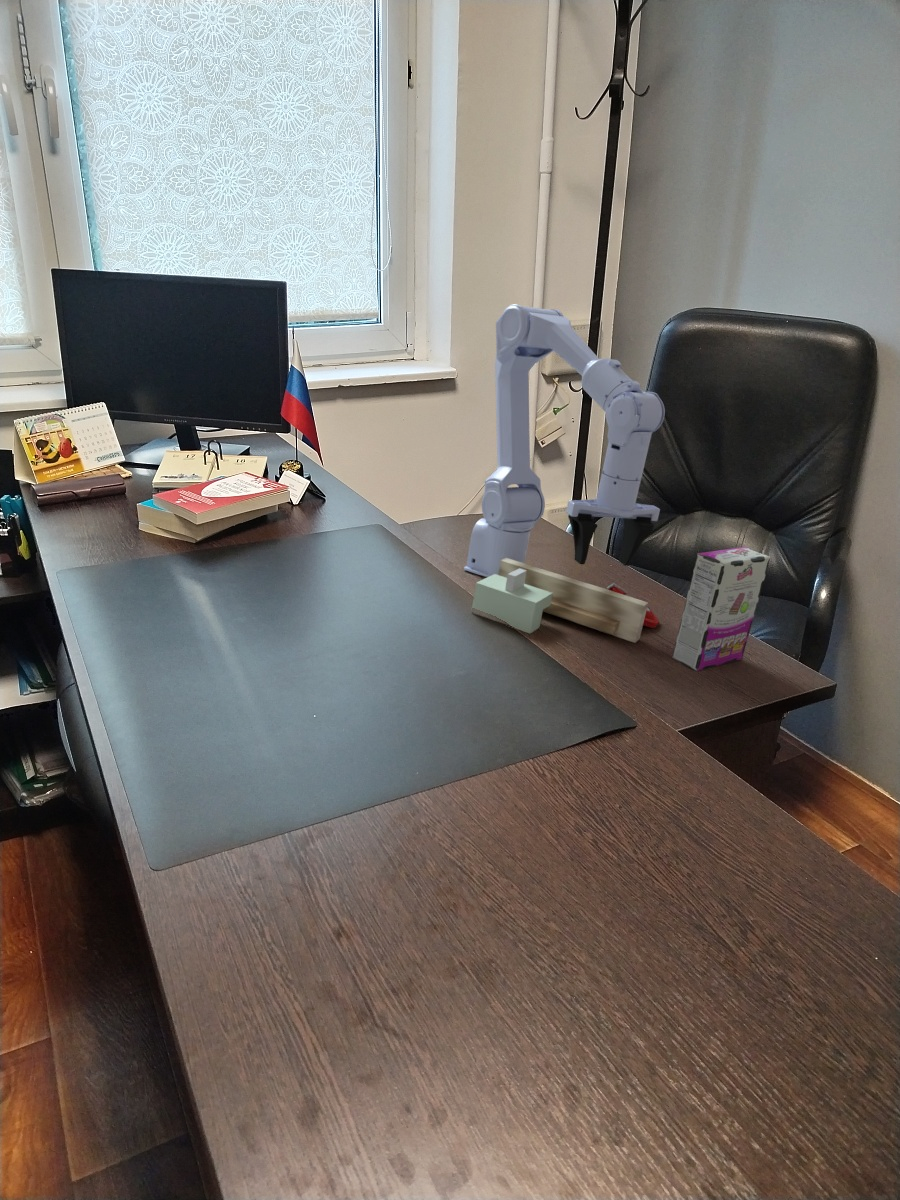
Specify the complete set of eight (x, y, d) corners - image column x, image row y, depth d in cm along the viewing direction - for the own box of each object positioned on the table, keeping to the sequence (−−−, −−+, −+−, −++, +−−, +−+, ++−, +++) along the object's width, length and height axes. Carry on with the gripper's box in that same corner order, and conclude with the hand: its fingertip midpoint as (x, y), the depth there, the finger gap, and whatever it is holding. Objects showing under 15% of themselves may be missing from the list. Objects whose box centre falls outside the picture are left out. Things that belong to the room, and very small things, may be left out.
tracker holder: (672, 619, 134) (642, 615, 126) (657, 641, 135) (626, 639, 128) (618, 577, 141) (587, 572, 133) (604, 599, 142) (572, 595, 135)
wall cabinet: (471, 613, 126) (478, 567, 124) (489, 603, 131) (497, 558, 129) (529, 634, 122) (539, 586, 119) (546, 623, 127) (555, 577, 124)
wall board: (488, 598, 133) (494, 562, 131) (500, 592, 136) (506, 557, 134) (630, 646, 123) (639, 609, 121) (639, 639, 126) (648, 602, 124)
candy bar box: (715, 646, 128) (744, 545, 122) (742, 660, 124) (773, 556, 118) (668, 657, 121) (696, 551, 115) (695, 672, 118) (726, 563, 112)
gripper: (589, 479, 116) (570, 570, 121) (678, 486, 121) (656, 573, 126) (568, 466, 122) (550, 554, 127) (653, 473, 127) (633, 557, 132)
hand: (601, 562), depth 127 cm, fingers open, 7 cm apart
